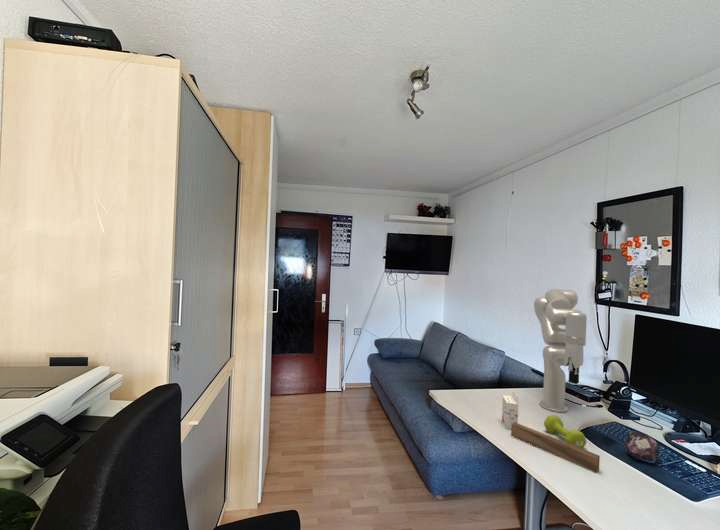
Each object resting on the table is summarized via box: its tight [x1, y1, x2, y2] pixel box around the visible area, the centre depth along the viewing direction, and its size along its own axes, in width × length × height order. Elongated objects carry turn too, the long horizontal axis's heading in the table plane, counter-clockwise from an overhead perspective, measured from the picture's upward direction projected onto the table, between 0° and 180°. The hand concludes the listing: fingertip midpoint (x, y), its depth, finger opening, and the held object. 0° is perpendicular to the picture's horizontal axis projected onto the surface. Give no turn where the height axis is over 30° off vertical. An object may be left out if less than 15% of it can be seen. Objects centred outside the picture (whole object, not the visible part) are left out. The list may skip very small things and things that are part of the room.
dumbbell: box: [543, 414, 587, 449], centre depth 134 cm, size 16×8×7 cm, turn 5°
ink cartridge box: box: [501, 390, 519, 430], centre depth 145 cm, size 9×5×15 cm, turn 168°
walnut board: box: [510, 422, 601, 473], centre depth 125 cm, size 3×30×5 cm, turn 40°
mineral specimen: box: [624, 430, 661, 463], centre depth 123 cm, size 10×10×10 cm
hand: (573, 382), depth 140 cm, fingers closed
